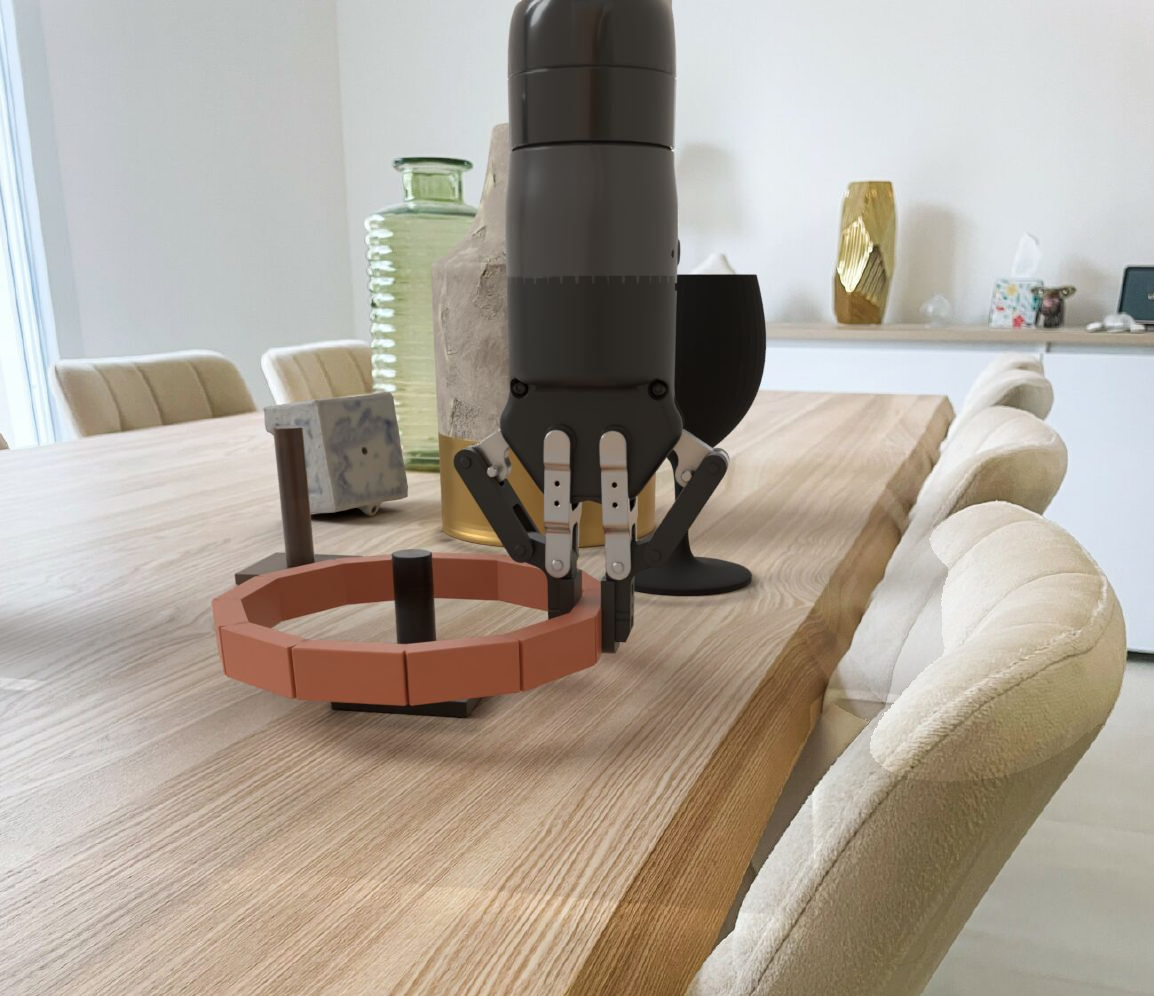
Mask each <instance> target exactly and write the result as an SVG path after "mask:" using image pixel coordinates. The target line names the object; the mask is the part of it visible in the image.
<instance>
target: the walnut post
mask: <svg viewBox="0 0 1154 996" xmlns="http://www.w3.org/2000/svg"><path fill="white" fill-rule="evenodd" d="M273 433H274V436H273V441H274V443H273V444H274V452H275V462H276V471H277V472H276V473H277V482H278V492H279V502H280V511H281V522H282V523H281V524H282V533H283V541H284V551H285V552H273V553H272V554H270V555H268V556H266V557H264V558H263V559H260V560H258V561H257V562H254V563H253V564H251V565H248V566H247V567H245V568H243V569H241V570H239V571H237V572H235V573H234V582H235V585H236V586H238V585H240V584H242V583H244V582H246V581H248V580H249V579H251V578H253V577H255V576H258V575H262V574H266V573H271V572H276V571H280V570H285V569H289V568H294V567H298V566H303V565H308V564H312V563H317V562H321V561H326V560H335V559H339V558H351V557H364V555H351V554H350V555H349V554H347V555H346V554H326V553H325V554H324V553H322V554H321V553H315V545H314V535H313V527H312V526H313V525H312V513H310V502H309V491H308V480H307V469H306V458H305V447H304V436H303V427H302V426H299V425H281V426H275V427H273Z"/></svg>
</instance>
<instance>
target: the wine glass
mask: <svg viewBox="0 0 1154 996" xmlns="http://www.w3.org/2000/svg"><path fill="white" fill-rule="evenodd" d="M764 310H765V309H764V303H763V298H762V292H761V287H760V283H759V278H758V275H757V274H755V273H753V274H751V273H747V274H745V273H743V274H741V273H732V274H730V273H723V274H721V273H718V274H717V273H714V274H713V273H712V274H707V273H706V274H703V273H696V274H695V273H694V274H693V273H689V274H686V273H684V274H683V273H681V274H680V273H677V304H676V341H675V378H674V390H675V396H676V400H677V403H678V405H679V407H680V409H681V411H682V413H683V416H684V421H685V427H684V429H685V430H686V431H688V432H689V433H691V434H692V435H694V436H695V437H697V438H698V439H700V440H701V441H703V442H704V443H706V444H707V445H709V446H710V447H712V448H716V447H717V445H719V444H720V443H721V442H723V441H724V440H725V439H726V438H727V437H728V436H729V435H730V434H731V433H732V432H733V431H734V430H735V429H736V428H737V427H738V425H740V423H741V422H742V421H743V420H744V418H745V416H746V415H747V414H748V412H749V411H750V409H751V407H752V405H753V404H754V402H755V401H756V398H757V395H758V392H759V390H760V388H761V384H762V379H763V377H764V372H765V366H766V365H765V364H766V357H767V356H766V355H767V327H766V316H765V311H764ZM666 460H668V461H669V463H670V466H671V468H672V475H673V483H674V502H675V501H676V499H677V498H678V496H679V495H680V493H681V491H682V490H683V488H684V487H682V486H681V485H679V484H678V482H677V481H676V478H675V471H676V468H677V466H678V456H677V454H676V452H675V451H674V450H672V451H671V452H670V454H669V455H668V457H667V458H666ZM752 579H753V575H752V571H751V570H750V569H749V568H748V567H746V566H744V565H741V564H739V563H736V562H733V561H729V560H725V559H719V558H714V557H713V558H712V557H708V556H707V557H705V556H695V555H694V554H693V552H692V550H691V545H690V538H689V530H688V531H687V533H686V534H685V536H684V537H683V539H682V540H681V542H680V543H679V545H678V546H677V548H676V549H675V551H674V552H673V554H672V555H671V557H670V558H669V560H668V561H667V563H666V564H665V565H664V566H662V567H660V568H649V569H646V570H642V571H640V572H638V573H637V574H636V575H635V578H634V592H640V593H647V594H654V595H665V596H704V595H714V594H722V593H723V594H724V593H729V592H733V591H736V590H740V589H742V588H744V587H746V586H748V585H749V584H750V583H751V582H752Z"/></svg>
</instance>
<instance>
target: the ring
mask: <svg viewBox="0 0 1154 996" xmlns="http://www.w3.org/2000/svg"><path fill="white" fill-rule="evenodd" d="M430 552H431V553H432V564H433V584H434V599H448V600H467V601H469V600H471V601H472V600H473V601H497V602H502V603H507V604H511V605H517V606H521V607H525V608H529V609H534V610H539V611H543V612H548V584H547V577H546V575H545V573H544V572H543V571H542V570H541V569H540V568H538V567H536V566H533V565H531V564H528V563H526V562H524V563H518V562H515V561H514V560H513V559H512V558H511V557H510V556H509V555H507V554H496V553H494V554H493V553H492V554H491V553H466V552H465V553H464V552H439V551H438V552H435V551H433V552H432V551H430ZM391 555H392V553H390V554H379V555H365V556H364V555H363V557H351V558H339V559H335V560H326V561H321V562H317V563H312V564H308V565H303V566H298V567H294V568H289V569H285V570H280V571H276V572H271V573H266V574H262V575H258V576H255V577H253V578H251V579H249V580H248V581H246V582H244V583H242V584H240V585H236V586H234V587H233V588H230V589H229V590H227V591H225V592H224V593H222V594H220V595H218V596H216V597H214V598H213V599H212V600H211V601H210V603H211V611H212V618H213V625H214V632H215V640H216V648H217V651H218V655H219V658H220V663H221V666H222V670H223V674H224V676H226V677H227V678H229V679H232V680H234V681H235V680H236V681H238V682H241V683H243V684H246V685H250V686H253V687H255V688H259V689H261V690H265V691H267V692H271V693H273V694H276V695H279V696H282V697H285V698H287V699H290V700H295V699H297V700H298V701H312V702H326V703H327V702H330V703H331V702H345V703H363V704H380V705H398V706H405V705H406V704H407V703H409V704H410V705H411V706H413V705H421V704H429V703H437V702H446V701H454V700H462V699H470V698H478V697H482V698H486V697H494V696H501V695H502V696H503V695H511V694H519V693H520V692H524V693H525V692H528V691H530V690H534V689H535V688H538V687H540V686H543V685H546V684H550V683H552V682H554V681H557V680H560V679H563V678H565V677H568V676H571V675H573V674H575V673H578V672H581V671H584V670H587V669H588V668H591V667H594V666H595V665H596V664H598V662H599V660H600V659H601V656H602V655H603V653H602V609H601V580H598V579H597V578H595V577H594V576H592V575H591V574H589V573H587V572H585V571H584V570H582V596H581V598H580V599H579V601H578V602H577V604H576V605H575V607H573V609H572V610H571V612H570V613H568V614H565V615H562V616H559V617H555V618H552V619H549V620H548V619H546V620H543V621H540V622H537V623H534V624H533V623H532V624H530V625H528V626H524V627H521V628H517V629H515V630H512V631H509V632H506V633H505V632H504V633H499V634H489V635H480V636H471V637H470V636H469V637H461V638H452V639H443V640H441V639H440V640H436V641H432V642H422V643H413V644H397V643H390V642H389V643H388V642H387V643H386V642H370V641H369V642H367V641H344V640H327V639H325V640H324V639H309V638H305V637H301V636H298V635H295V634H291V633H287V632H284V631H281V630H278V629H274V627H276V626H277V625H279V624H281V623H282V622H285V621H290V620H293V619H298V618H302V617H305V616H309V615H313V614H316V613H321V612H325V611H328V610H331V609H336V608H340V607H344V606H351V605H361V604H374V603H384V602H394V587H393V572H392V556H391ZM577 569H580V568H579V567H577Z"/></svg>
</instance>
